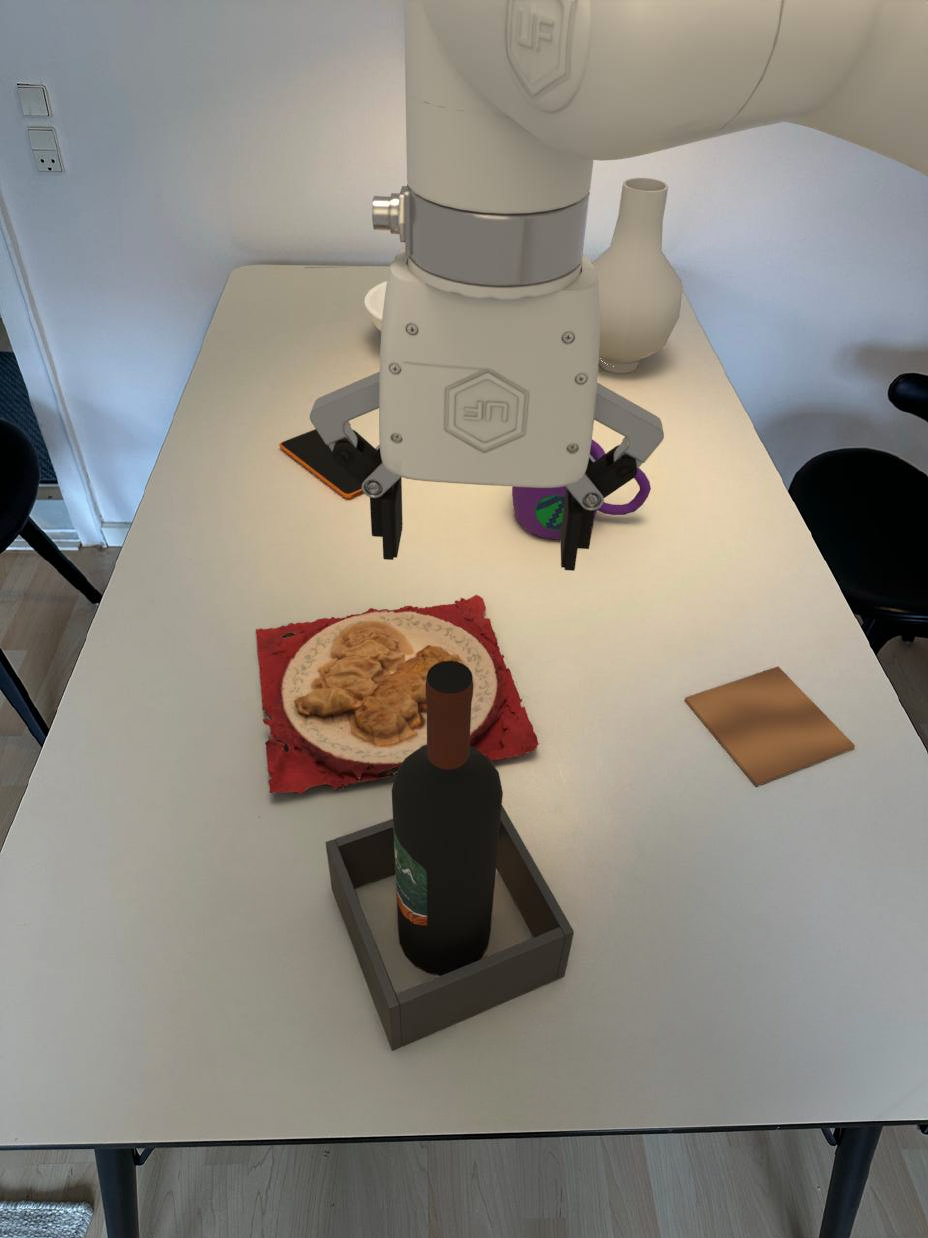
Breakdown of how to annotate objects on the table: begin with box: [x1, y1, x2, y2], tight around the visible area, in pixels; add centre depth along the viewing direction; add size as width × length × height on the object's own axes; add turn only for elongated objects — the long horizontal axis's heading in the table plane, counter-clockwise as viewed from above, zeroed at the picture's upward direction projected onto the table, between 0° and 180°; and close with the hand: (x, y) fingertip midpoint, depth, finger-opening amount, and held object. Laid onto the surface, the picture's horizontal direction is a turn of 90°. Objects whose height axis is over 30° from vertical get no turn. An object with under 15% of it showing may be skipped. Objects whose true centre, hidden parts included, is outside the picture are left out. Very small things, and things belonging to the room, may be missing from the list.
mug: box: [511, 439, 652, 540], centre depth 113 cm, size 17×11×10 cm, turn 86°
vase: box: [591, 177, 684, 374], centre depth 140 cm, size 17×16×28 cm
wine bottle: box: [391, 661, 504, 976], centre depth 64 cm, size 8×8×30 cm
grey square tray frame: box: [325, 805, 575, 1051], centre depth 72 cm, size 15×15×7 cm
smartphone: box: [278, 428, 364, 499], centre depth 125 cm, size 8×17×1 cm, turn 41°
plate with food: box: [255, 594, 541, 794], centre depth 92 cm, size 24×26×3 cm
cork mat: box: [684, 666, 856, 787], centre depth 91 cm, size 12×12×1 cm
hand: (479, 549), depth 50 cm, fingers open, 9 cm apart
